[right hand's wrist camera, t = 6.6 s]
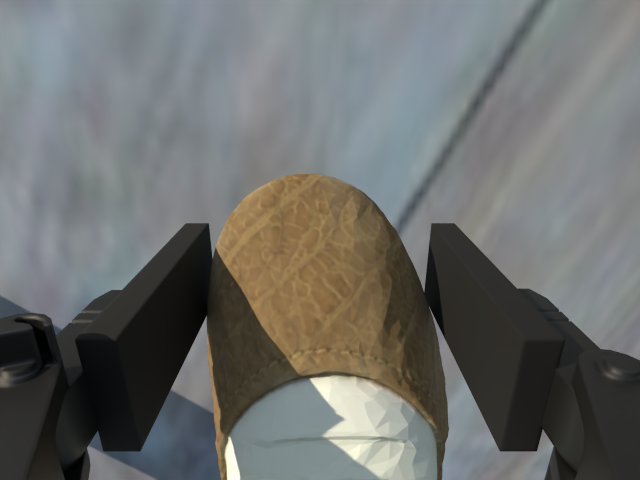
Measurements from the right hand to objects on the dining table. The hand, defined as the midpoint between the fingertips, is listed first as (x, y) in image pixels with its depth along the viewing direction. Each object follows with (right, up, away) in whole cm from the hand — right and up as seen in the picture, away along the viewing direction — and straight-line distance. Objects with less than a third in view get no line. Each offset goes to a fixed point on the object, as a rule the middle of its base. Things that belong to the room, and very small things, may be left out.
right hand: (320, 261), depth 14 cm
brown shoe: (0, -8, +4) cm, 9 cm away
